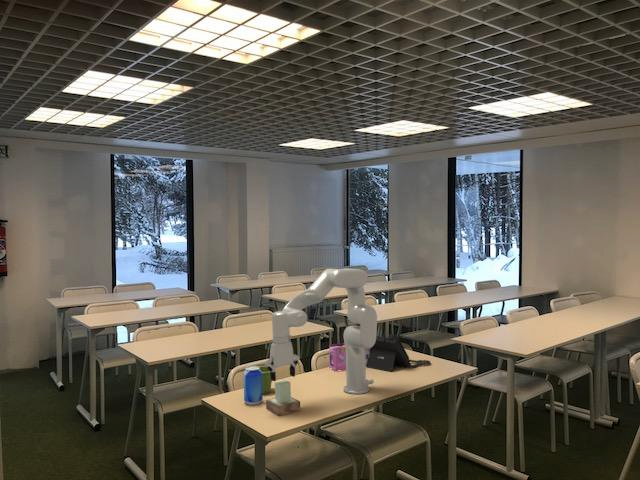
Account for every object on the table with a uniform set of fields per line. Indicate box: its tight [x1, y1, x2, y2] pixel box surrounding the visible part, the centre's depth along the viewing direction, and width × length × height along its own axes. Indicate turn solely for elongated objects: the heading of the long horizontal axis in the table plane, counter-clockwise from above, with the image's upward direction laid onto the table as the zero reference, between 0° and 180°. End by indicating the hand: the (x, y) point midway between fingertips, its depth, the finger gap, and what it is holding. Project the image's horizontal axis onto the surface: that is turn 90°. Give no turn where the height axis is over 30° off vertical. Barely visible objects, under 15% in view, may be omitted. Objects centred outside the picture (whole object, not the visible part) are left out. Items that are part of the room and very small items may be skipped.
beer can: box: [243, 365, 264, 406], centre depth 237 cm, size 8×8×16 cm
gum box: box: [328, 342, 370, 372], centre depth 292 cm, size 24×8×14 cm, turn 116°
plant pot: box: [258, 365, 273, 395], centre depth 252 cm, size 12×12×11 cm
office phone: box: [366, 333, 432, 372], centre depth 294 cm, size 29×28×20 cm
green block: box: [274, 379, 292, 403], centre depth 226 cm, size 5×5×8 cm
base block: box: [265, 396, 301, 417], centre depth 226 cm, size 11×11×4 cm
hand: (283, 378), depth 226 cm, fingers open, 9 cm apart
